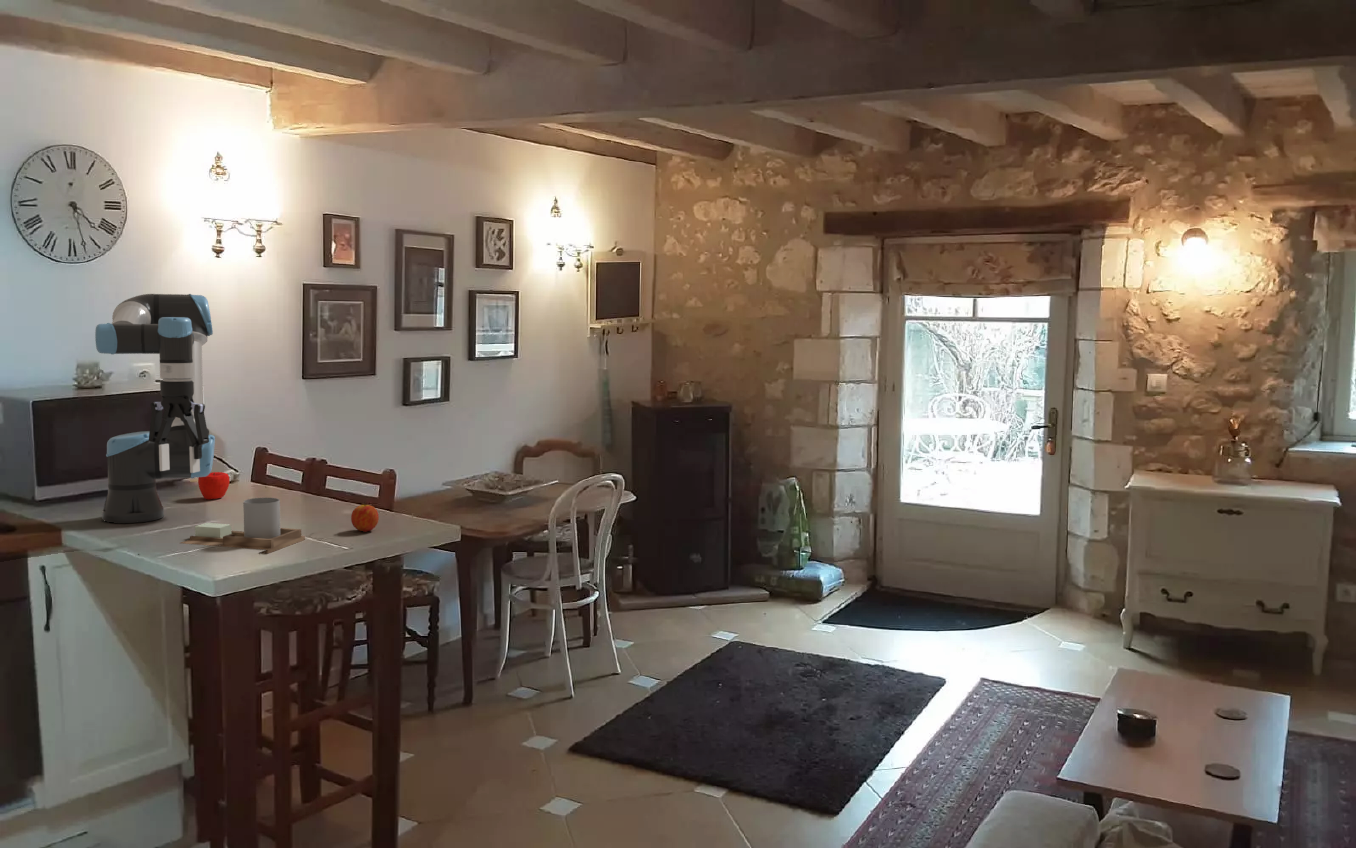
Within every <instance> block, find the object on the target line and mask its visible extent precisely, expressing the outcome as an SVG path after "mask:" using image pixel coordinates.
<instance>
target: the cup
mask: <svg viewBox="0 0 1356 848" xmlns="http://www.w3.org/2000/svg"><path fill="white" fill-rule="evenodd" d="M280 503H281V501H280V498H275V497H255V498H254V497H253V498H248V499H245V500H243V506H242V507H243V532H244V537H250V538H263V539H271V538H274V537H277V536H280V528H281V504H280Z"/></svg>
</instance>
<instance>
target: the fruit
mask: <svg viewBox="0 0 1356 848" xmlns="http://www.w3.org/2000/svg"><path fill="white" fill-rule="evenodd" d="M366 503H367V502H366V500H365V501H364V504H360V505H358V506H356V507H355V508H354V509H353V511H352V512H351V516H350V521H351V524H352V526H353V527H354V528H355V529H356V530H358V531H359V532H361V531H363V532H364V533H367V532H370V531H373V530H374V529H375V528H376V527H377V525H378V523H379V521H380V520H379V517H380V516H379V513H378V510H377V509H376V508H375V506H373V505H370V504H366ZM363 532H362V533H363Z"/></svg>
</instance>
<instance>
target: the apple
mask: <svg viewBox="0 0 1356 848" xmlns="http://www.w3.org/2000/svg"><path fill="white" fill-rule="evenodd" d="M197 479H198V480H197V484H198V488H199V491H200V493H201V496H202V497H203V499H205V500H209V501H210V500H215V499H217V500H218V499H221V498H224V496H225V495H226V493H227V491H228V489H229V486H230V476H229V474H228V473H226V472H223V471H221V472H220V471H214V472H212V471H211V473H210V474H209V475H208V476H206V477H197Z"/></svg>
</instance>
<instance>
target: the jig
mask: <svg viewBox="0 0 1356 848" xmlns="http://www.w3.org/2000/svg"><path fill="white" fill-rule="evenodd" d="M231 532H232V534H229V535H226V536H223V538H215V537H202V536H195V535H190V536H189V539H188V540H185V541H182V542H180V544H186V545H199V546H200V545H201V546H212V547H225V548H239V549H250V550H251V549H253V550H262V551H260V552H258V554H265V555H267V554H271V553H274V552H276V551H279V550H281V549H284V548H287V547H290V546H292V545H294V544H298V543H300V542H303V541H305V540H306V537H305V535H302V528H287V527H280V536H277V537H274V538H271V539H263V538H250V537H244V530H243V531H242V530H241V531H239V530H231Z"/></svg>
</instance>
